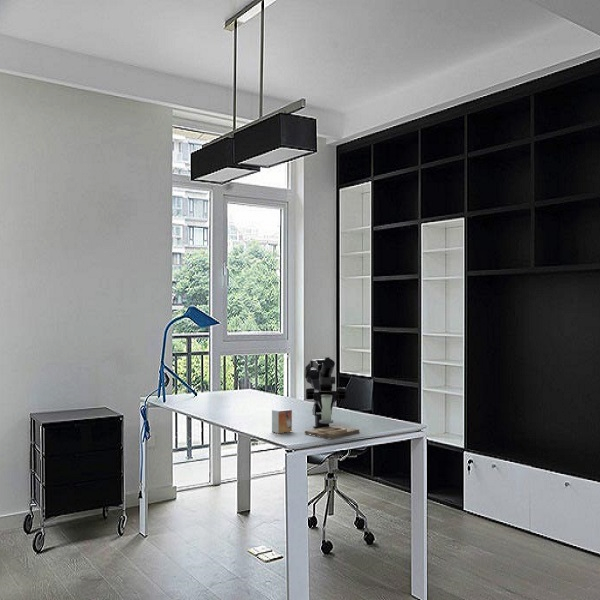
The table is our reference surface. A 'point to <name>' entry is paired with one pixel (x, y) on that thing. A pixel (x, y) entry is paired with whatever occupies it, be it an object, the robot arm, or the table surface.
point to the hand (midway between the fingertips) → (326, 408)
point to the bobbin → (326, 409)
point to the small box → (281, 420)
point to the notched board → (332, 431)
